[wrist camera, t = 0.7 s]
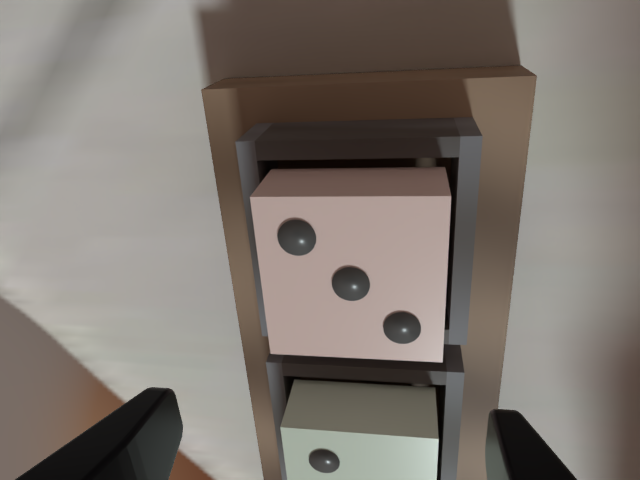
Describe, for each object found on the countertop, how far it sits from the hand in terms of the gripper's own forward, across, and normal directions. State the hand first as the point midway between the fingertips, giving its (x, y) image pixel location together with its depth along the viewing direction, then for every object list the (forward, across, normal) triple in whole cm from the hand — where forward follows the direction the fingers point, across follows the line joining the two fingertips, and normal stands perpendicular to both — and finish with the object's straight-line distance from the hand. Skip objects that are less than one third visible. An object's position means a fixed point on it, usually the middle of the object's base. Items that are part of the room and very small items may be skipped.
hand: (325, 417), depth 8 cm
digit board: (+10, 0, +7) cm, 12 cm away
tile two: (+6, 0, +7) cm, 9 cm away
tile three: (+6, 0, 0) cm, 6 cm away
